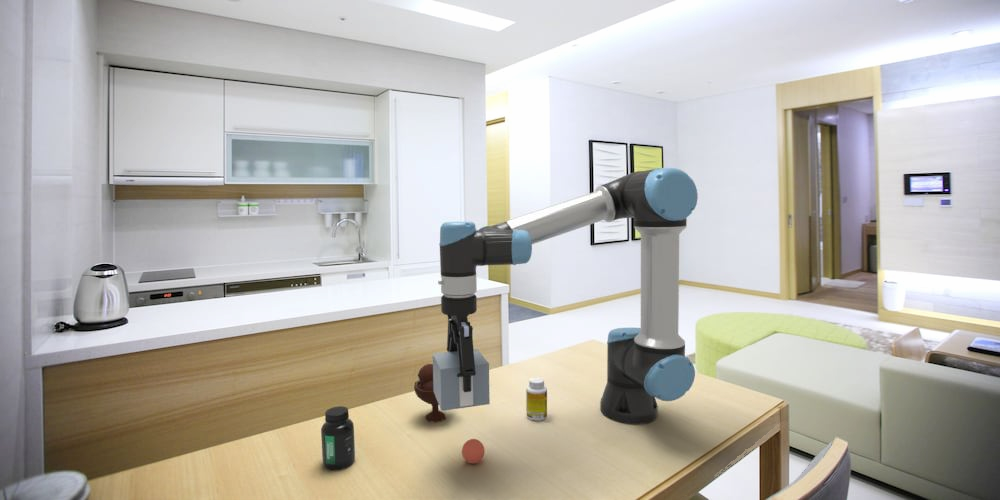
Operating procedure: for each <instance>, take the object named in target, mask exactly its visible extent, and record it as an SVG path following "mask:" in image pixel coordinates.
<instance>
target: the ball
mask: <svg viewBox="0 0 1000 500" xmlns="http://www.w3.org/2000/svg"><path fill="white" fill-rule="evenodd" d="M485 450H486V449H485V446H484V443H482V442H481V441H480V440H479V439H476V438H471V439H469V440H468V439H467V441H465V443H464V444H463V445H462V447H461V455H462V457H463V459H464V460H465V461H466V462H467V463H469V464H477V463H479V462H481V461H482V459H483V458H484V457H485Z"/></svg>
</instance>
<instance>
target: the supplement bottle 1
mask: <svg viewBox="0 0 1000 500" xmlns="http://www.w3.org/2000/svg"><path fill="white" fill-rule="evenodd" d="M324 416H325V418H324V423H323V424H322V426H321V428H320V434H321V437H320V438H321V439H320V440H321V451H322V452H321V453H322V454H321V455H322V456H321V457H322V466H323V467H324V468H325V469H327V470H329V471H339V470H343V469H346V468H348V467H350V466H351V465H352V464H353V463H354V462H355V460H356V459H355V458H356V450H355V449H356V448H355V446H356V445H355V444H356V443H355V425H354V422H353V421H352V419H351V418H350V415H349V409H348V407H346V406H341V405H340V406H334V407H330V408H328V409H326V411H325V412H324Z"/></svg>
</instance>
